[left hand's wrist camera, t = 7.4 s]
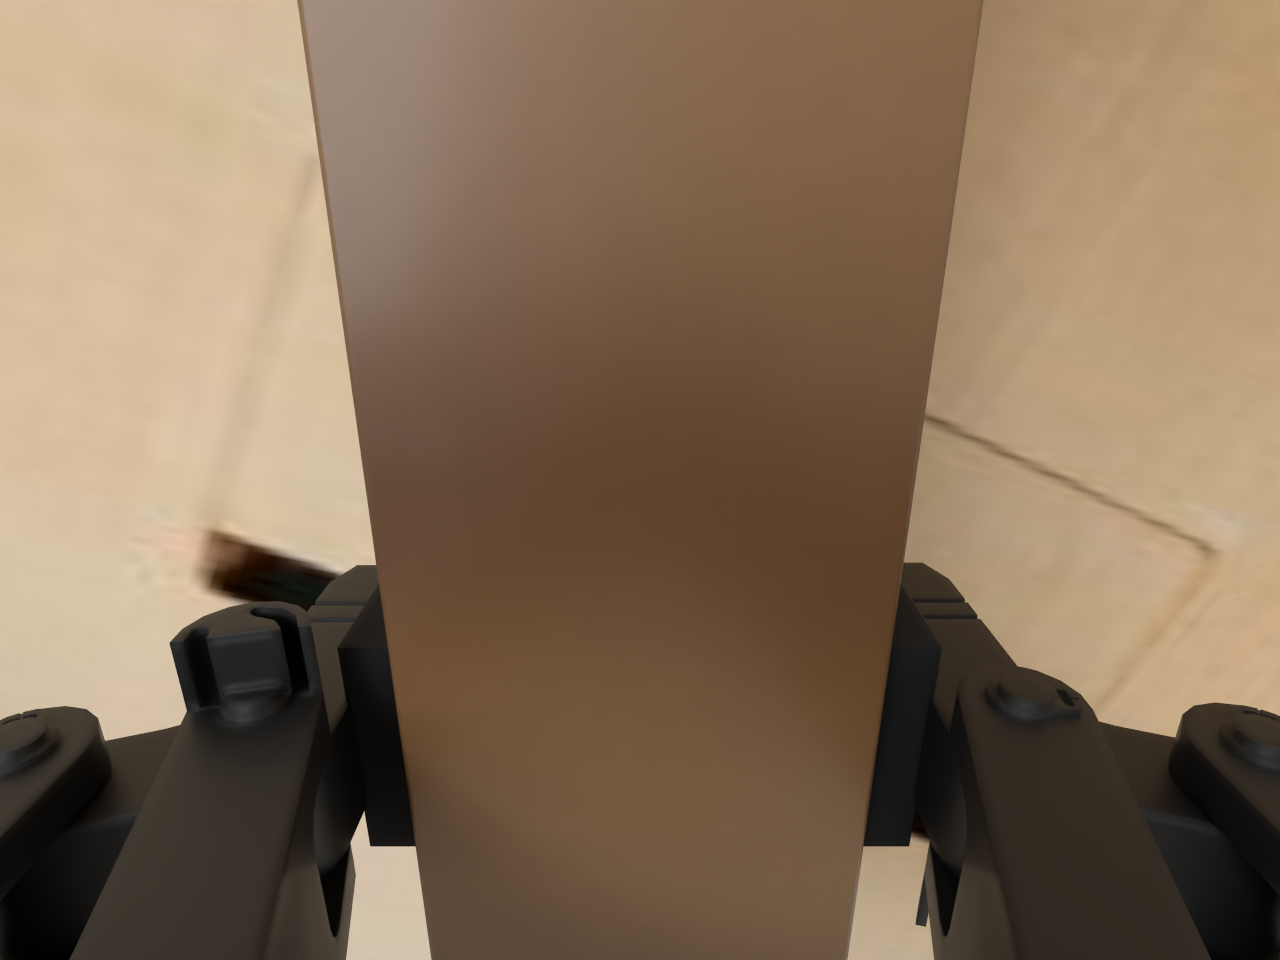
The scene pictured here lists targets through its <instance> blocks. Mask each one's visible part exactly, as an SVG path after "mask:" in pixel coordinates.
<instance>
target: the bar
mask: <svg viewBox="0 0 1280 960" xmlns="http://www.w3.org/2000/svg"><path fill="white" fill-rule="evenodd" d="M982 6H983V0H298V7H299V14H300V22H301V29H302V36H303V43H304V50H305V57H306V65H307V72H308V79H309V86H310V93H311V100H312V107H313V115H314V122H315V129H316V136H317V143H318V150H319V157H320V165H321V172H322V179H323V186H324V193H325V200H326V208H327V215H328V222H329V229H330V236H331V243H332V250H333V258H334V265H335V272H336V279H337V286H338V293H339V301H340V308H341V315H342V322H343V329H344V336H345V343H346V351H347V358H348V365H349V372H350V379H351V386H352V394H353V401H354V408H355V415H356V422H357V429H358V436H359V444H360V451H361V458H362V465H363V472H364V479H365V486H366V494H367V501H368V508H369V515H370V522H371V529H372V537H373V544H374V551H375V558H376V565H377V572H378V579H379V587H380V594H381V601H382V608H383V615H384V622H385V630H386V637H387V644H388V651H389V658H390V665H391V672H392V680H393V687H394V694H395V701H396V708H397V715H398V723H399V730H400V737H401V744H402V751H403V758H404V765H405V773H406V780H407V787H408V794H409V801H410V808H411V815H412V823H413V830H414V837H415V844H416V851H417V858H418V866H419V873H420V880H421V887H422V894H423V901H424V908H425V916H426V923H427V930H428V937H429V944H430V951H431V959H432V960H847V958H848V951H849V943H850V936H851V929H852V922H853V915H854V908H855V901H856V894H857V887H858V880H859V873H860V866H861V859H862V852H863V845H864V838H865V831H866V824H867V817H868V810H869V802H870V795H871V788H872V781H873V774H874V767H875V760H876V753H877V746H878V739H879V732H880V725H881V718H882V711H883V704H884V697H885V690H886V683H887V676H888V668H889V661H890V654H891V647H892V640H893V633H894V626H895V619H896V612H897V605H898V598H899V591H900V584H901V577H902V570H903V563H904V556H905V549H906V542H907V535H908V527H909V520H910V513H911V506H912V499H913V492H914V485H915V478H916V471H917V464H918V457H919V450H920V443H921V436H922V429H923V422H924V415H925V408H926V401H927V393H928V386H929V379H930V372H931V365H932V358H933V351H934V344H935V337H936V330H937V323H938V316H939V309H940V302H941V295H942V288H943V281H944V274H945V267H946V260H947V252H948V245H949V238H950V231H951V224H952V217H953V210H954V203H955V196H956V189H957V182H958V175H959V168H960V161H961V154H962V147H963V140H964V133H965V126H966V118H967V111H968V104H969V97H970V90H971V83H972V76H973V69H974V62H975V55H976V48H977V41H978V34H979V27H980V20H981V13H982Z"/></svg>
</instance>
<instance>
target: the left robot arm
mask: <svg viewBox="0 0 1280 960" xmlns="http://www.w3.org/2000/svg"><path fill="white" fill-rule="evenodd" d="M170 647H171V651H172V655H173V658H174V662H175V666H176V670H177V674H178V678H179V682H180V685H181V689H182V693H183V697H184V701H185V705H186V709H187V712H186V715H185V717H184V719H183V721H182V723H181V725H179V726H175V727H171V728H167V729H163V730H158V731H153V732H148V733H143V734H138V735H133V736H128V737H123V738H118V739H113V740H108V741H105V739H104V736H103V733H102V730H101V727H100V723H99V720H98V718H97V717H96V716H95V715H93V714H92V713H91V712H89V711H88V710H87V709H82V708H75V707H68V706H62V707H54V708H45V709H35V710H31V711H26V712H23V714H20V713H19V714H16V715H13V716H10V717H6V718H4V719H2V720H0V960H346V954H347V945H348V937H349V928H350V920H351V911H352V902H353V894H354V885H355V877H356V874H355V868H354V861H353V855H352V849H351V844H350V842H351V840H352V837H353V835H354V833H355V831H356V828H357V826H358V824H359V821H360V819H361V817H362V815H363V812H364V811H365V817H366V823H367V829H368V835H369V841H370V846H416V844H415V837H414V830H413V823H412V815H411V808H410V801H409V794H408V787H407V780H406V773H405V765H404V758H403V751H402V744H401V737H400V730H399V723H398V715H397V708H396V701H395V694H394V687H393V680H392V672H391V665H390V658H389V651H388V644H387V637H386V630H385V622H384V615H383V608H382V601H381V594H380V587H379V579H378V572H377V565H357V566H355V567H354V568H352V569H351V570H349V571H347V572H346V573H344V574H343V575H341V576H339V577H338V578H336V579H335V580H333V581H331V582H330V583H329V585H328V586H327V587H326V588H325V590H324V591H323V592H322V594H321V595H320V596H319V597H318V599H317V600H316V601H315V605H312V607H311V608H310V609H309V610H308V612H306V611H305V610H303V609H302V608H301V607H299V606H298V605H293V604H289V603H284V602H280V601H278V602H253V603H248V604H243V605H238V606H233V607H228V608H226V609H223V610H220V611H217V612H215V613H212V614H209V615H206V616H204V617H202V618H200V619H199V620H197V621H195V622H193V623H192V624H190V625H188V626H187V627H185V628H183V629H182V630H181V631H180V632H179V633H178V634H177V635H176V636H175V638H174V639H173V640H172V641H171V642H170ZM915 808H916V810H917V812H918V814H919V816H920V819H921V821H922V823H923V826H924V828H925V830H926V832H927V835H928V837H929V839H930V844H929V849H928V855H927V861H926V866H925V872H924V877H923V883H922V888H921V894H920V900H919V905H918V911H917V918H916V925H920V926H925V927H926V923H927V918H928V913H929V918H930V926H931V935H932V943H933V952H934V960H1280V716H1278V715H1276V714H1273V713H1270V712H1267V711H1264V710H1261V711H1260V710H1257V708H1253V707H1248V706H1243V705H1232V704H1223V703H1209V704H1202V705H1195V706H1193V707H1192V708H1190V709H1189V710H1188V711H1186V712H1185V713H1184V714H1183V715H1182V718H1181V721H1180V724H1179V728H1178V731H1177V734H1176V737H1175V738H1174V737H1169V736H1164V735H1159V734H1154V733H1149V732H1144V731H1139V730H1134V729H1128V728H1123V727H1118V726H1114V725H1110V724H1106V723H1103V722H1099V721H1098V720H1097V717H1096V715H1095V713H1094V711H1093V709H1092V708H1091V707H1090V706H1089V704H1088V703H1087V702H1086V701H1085V699H1084V698H1083V697H1082V696H1081V694H1079V693H1078V692H1076V691H1075V690H1073V689H1072V688H1070V687H1069V686H1068V685H1066V684H1065V683H1063V682H1062V681H1060V680H1058V679H1055V678H1053V677H1051V676H1048V675H1046V674H1043V673H1041V672H1039V671H1036V670H1032V669H1027V668H1023V667H1018V666H1017V665H1016V664H1015V663H1014V661H1013V660H1012V659H1011V658H1010V656H1009V655H1008V654H1007V652H1006V651H1005V650H1004V649H1003V647H1002V646H1001V645H1000V643H999V642H998V641H997V640H996V638H995V637H994V636H993V635H992V633H991V632H990V631H989V629H988V628H987V627H986V626H985V624H984V623H983V622H982V620H981V619H977V614H976V613H975V612H974V610H973V609H972V608H971V606H970V605H969V604H968V603H965V599H964V597H963V596H962V595H961V594H960V592H959V591H958V590H957V589H956V587H955V586H954V585H953V583H952V582H951V581H950V580H949V579H948V578H946V577H945V576H943V575H941V574H940V573H938V572H937V571H935V570H933V569H932V568H930V567H928V566H927V565H925V564H924V563H903V570H902V577H901V584H900V591H899V598H898V605H897V612H896V619H895V626H894V633H893V640H892V647H891V654H890V661H889V668H888V676H887V683H886V690H885V697H884V704H883V711H882V718H881V725H880V732H879V739H878V746H877V753H876V760H875V767H874V774H873V781H872V788H871V795H870V802H869V810H868V817H867V824H866V831H865V838H864V845H863V846H909V844H910V838H911V832H912V826H913V820H914V814H915Z"/></svg>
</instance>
